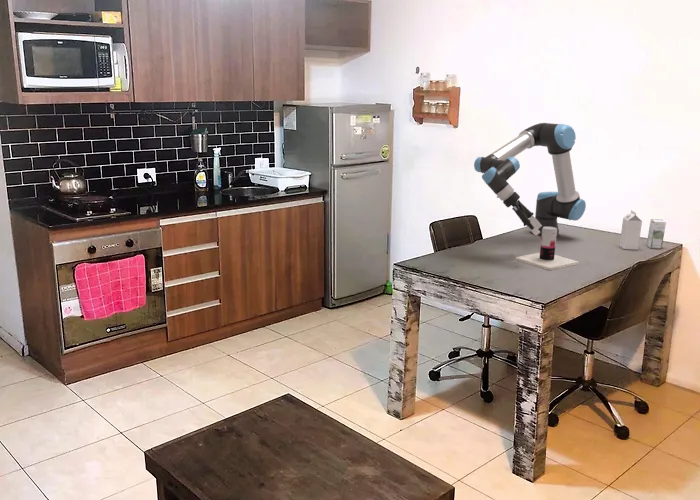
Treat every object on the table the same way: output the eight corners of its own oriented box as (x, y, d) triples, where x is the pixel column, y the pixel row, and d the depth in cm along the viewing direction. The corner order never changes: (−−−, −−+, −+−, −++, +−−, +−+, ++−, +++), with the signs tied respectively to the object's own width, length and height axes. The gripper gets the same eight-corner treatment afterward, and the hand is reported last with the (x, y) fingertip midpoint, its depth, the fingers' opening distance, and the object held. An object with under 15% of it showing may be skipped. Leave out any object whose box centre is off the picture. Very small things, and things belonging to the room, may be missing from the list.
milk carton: (633, 246, 332) (638, 210, 327) (638, 250, 325) (643, 213, 320) (619, 245, 333) (624, 209, 328) (623, 249, 326) (628, 212, 321)
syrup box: (657, 246, 334) (662, 218, 330) (662, 249, 328) (666, 221, 324) (646, 245, 334) (650, 218, 330) (650, 248, 329) (654, 220, 325)
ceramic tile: (515, 259, 303) (515, 257, 303) (543, 254, 314) (544, 251, 314) (549, 270, 287) (549, 267, 287) (578, 264, 298) (578, 261, 298)
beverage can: (554, 261, 297) (558, 230, 293) (539, 260, 298) (543, 229, 294) (553, 257, 303) (556, 226, 299) (538, 256, 304) (541, 226, 300)
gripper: (504, 196, 312) (534, 229, 311) (499, 206, 289) (530, 242, 288) (517, 186, 308) (546, 220, 308) (512, 195, 286) (544, 231, 285)
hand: (538, 230), depth 298 cm, fingers open, 13 cm apart
